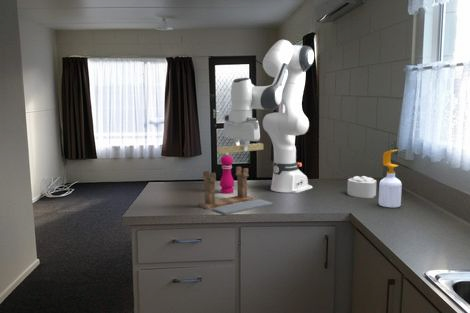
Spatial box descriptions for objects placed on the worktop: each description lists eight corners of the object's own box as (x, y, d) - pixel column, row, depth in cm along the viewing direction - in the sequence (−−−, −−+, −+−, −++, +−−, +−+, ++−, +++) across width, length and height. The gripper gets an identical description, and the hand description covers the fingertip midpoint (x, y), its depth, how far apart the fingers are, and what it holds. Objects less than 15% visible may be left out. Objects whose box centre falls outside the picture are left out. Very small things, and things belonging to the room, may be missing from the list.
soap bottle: (390, 208, 183) (392, 151, 180) (374, 204, 191) (376, 148, 188) (405, 206, 187) (408, 149, 184) (388, 201, 195) (391, 147, 192)
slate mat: (259, 200, 198) (259, 199, 198) (272, 204, 191) (272, 202, 191) (212, 210, 183) (212, 208, 183) (225, 214, 176) (225, 212, 176)
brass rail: (258, 148, 191) (258, 143, 190) (263, 149, 188) (263, 143, 188) (218, 152, 177) (218, 146, 177) (222, 153, 175) (222, 147, 175)
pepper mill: (232, 194, 212) (232, 153, 209) (218, 193, 213) (217, 153, 211) (235, 190, 219) (235, 151, 216) (221, 190, 220) (221, 151, 218)
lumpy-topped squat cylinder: (372, 198, 202) (372, 180, 200) (344, 195, 208) (345, 177, 207) (377, 194, 211) (378, 176, 209) (350, 191, 217) (351, 174, 216)
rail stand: (243, 197, 205) (243, 166, 203) (252, 200, 200) (252, 167, 198) (198, 205, 190) (198, 172, 188) (207, 209, 185) (207, 174, 183)
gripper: (263, 118, 175) (263, 152, 177) (232, 116, 191) (232, 147, 193) (251, 118, 171) (251, 153, 173) (221, 116, 187) (221, 148, 189)
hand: (241, 150), depth 183 cm, fingers closed on brass rail, 3 cm apart
